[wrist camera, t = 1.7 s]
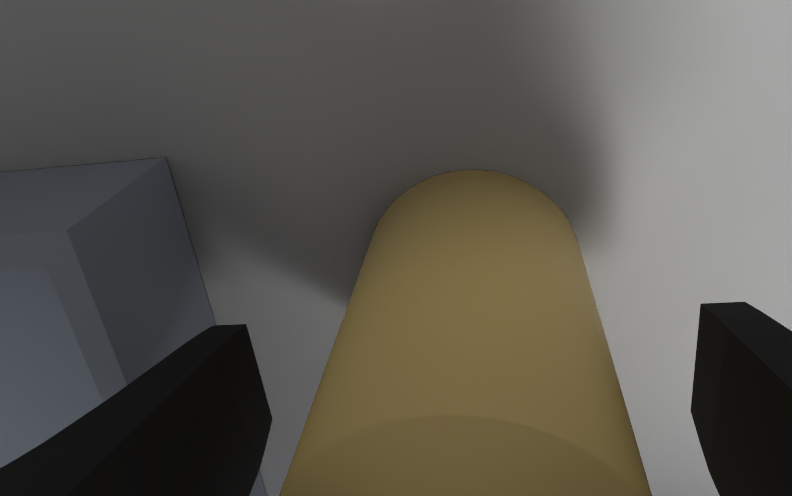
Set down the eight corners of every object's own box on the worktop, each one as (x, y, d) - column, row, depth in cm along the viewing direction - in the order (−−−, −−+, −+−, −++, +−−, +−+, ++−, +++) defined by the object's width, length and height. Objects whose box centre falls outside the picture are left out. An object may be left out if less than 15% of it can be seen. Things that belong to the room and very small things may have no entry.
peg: (580, 160, 12) (681, 411, 6) (580, 351, 14) (657, 693, 8) (353, 179, 13) (230, 418, 7) (383, 358, 15) (309, 674, 9)
